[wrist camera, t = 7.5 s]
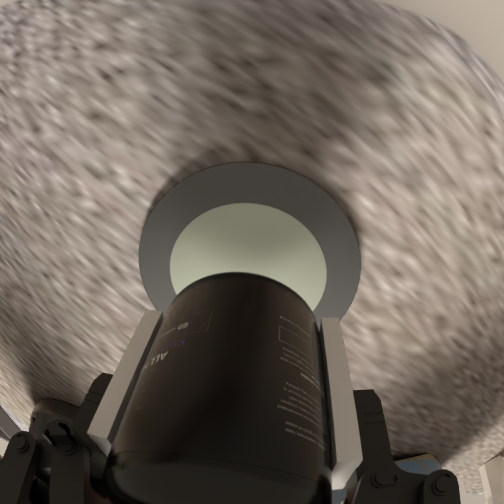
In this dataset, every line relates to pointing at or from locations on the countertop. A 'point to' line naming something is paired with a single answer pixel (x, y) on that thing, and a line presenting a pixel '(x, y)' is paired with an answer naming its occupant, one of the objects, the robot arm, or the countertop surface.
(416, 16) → the countertop surface
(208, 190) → the plate
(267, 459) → the supplement bottle
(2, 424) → the bowl mat frame
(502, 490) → the cup
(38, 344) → the countertop surface
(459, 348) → the countertop surface
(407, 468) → the planter
